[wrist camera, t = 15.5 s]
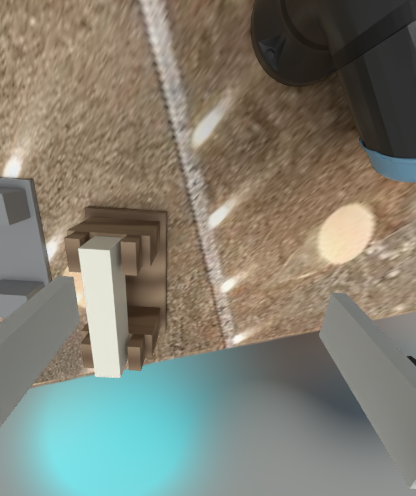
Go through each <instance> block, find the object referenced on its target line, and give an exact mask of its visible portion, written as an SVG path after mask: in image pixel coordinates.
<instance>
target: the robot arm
mask: <svg viewBox="0 0 416 496" xmlns="http://www.w3.org/2000/svg"><path fill="white" fill-rule="evenodd" d="M251 38H252V44H253V48H254V51H255V54H256V57H257V59H258V61H259V63H260V64H261V66H262V67H263V69H264V70H265V71H266V72H267V73H268V74H269V75H270V76H271V77H272V78H273V79H275V80H276V81H278V82H280V83H282V84H285V85H289V86H297V87H300V86H308V85H311V84H314V83H317V82H319V81H321V80H323V79H325V78H326V77H328V76H329V75H331V74H332V73H334V72H335V71H336V70H337V74H338V77H339V80H340V83H341V85H342V88H343V91H344V94H345V96H346V99H347V102H348V105H349V108H350V110H351V113H352V116H353V119H354V121H355V124H356V127H357V130H358V132H359V135H360V138H359V141H360V144H361V146H362V148H363V149H364V150H365V151H366V153H367V155H368V158H369V160H370V162H371V165H372V167H373V168H374V170H375V171H376V172H377V173H380V174H381V175H382V176H384V177H385V178H388V179H391V180H395V181H400V182H413V183H416V0H255V2H254V6H253V11H252V17H251ZM79 323H80V318H79V312H78V305H77V298H76V291H75V285H74V278H73V277H67V276H57V277H56V278H55V279H54V280H52V281H51V282H50V283H49V284H48V285H46V286H45V287H44V288H43V289H41V290H40V291H39V292H38V293H37V294H35V295H34V296H33V297H32V298H31V299H29V300H28V301H27V302H26V303H24V304H23V305H22V306H21V307H20V308H18V309H17V310H16V311H15V312H14V313H12V314H11V315H10V316H9V317H7V318H6V319H5V320H4V321H3V322H1V323H0V427H1V425H2V424H3V423H4V421H5V420H6V419H7V417H8V416H9V415H10V413H11V412H12V411H13V409H14V408H15V407H16V406H17V404H18V403H19V402H20V400H21V399H22V398H23V396H24V395H25V394H26V392H27V391H28V390H29V389H30V387H31V386H32V385H33V383H34V382H35V381H36V379H37V378H38V377H39V375H40V374H41V373H42V371H43V370H44V369H45V367H46V366H47V365H48V363H49V362H50V361H51V360H52V358H53V357H54V356H55V354H56V353H57V352H58V350H59V349H60V348H61V346H62V345H63V344H64V342H65V341H66V340H67V338H68V337H69V336H70V334H71V333H72V332H73V331H74V329H75V328H76V327H77V325H78V324H79ZM319 337H320V338H321V340H322V341H323V343H324V345H325V347H326V348H327V350H328V352H329V353H330V355H331V357H332V358H333V360H334V362H335V363H336V365H337V367H338V369H339V370H340V372H341V374H342V375H343V377H344V379H345V380H346V382H347V384H348V385H349V387H350V389H351V390H352V392H353V394H354V395H355V397H356V399H357V400H358V402H359V403H360V405H361V407H362V409H363V410H364V412H365V414H366V415H367V417H368V419H369V420H370V422H371V424H372V426H373V427H374V429H375V431H376V432H377V434H378V436H379V437H380V439H381V441H382V442H383V444H384V446H385V447H386V449H387V451H388V453H389V454H390V456H391V458H392V459H393V461H394V462H395V464H396V466H397V468H398V469H399V471H400V473H401V474H402V476H403V478H404V479H405V481H406V483H407V484H408V486H409V488H410V489H411V488H412V489H416V359H414V358H413V357H411V356H406V355H405V354H404V353H403V352H402V351H401V350H400V349H399V348H398V347H397V346H396V345H395V344H394V343H393V342H392V341H391V340H390V339H389V338H388V337H387V336H386V335H385V334H384V332H382V330H381V329H380V328H379V327H378V326H377V325H376V324H375V323H374V322H373V321H372V320H371V319H370V318H369V317H368V316H367V315H366V314H365V313H364V312H363V311H362V310H361V309H360V308H359V307H358V305H357V304H356V303H355V302H354V301H353V300H352V299H351V298H350V297H349V296H348V295H347V294H343V293H331V296H330V300H329V303H328V306H327V310H326V313H325V317H324V320H323V324H322V327H321V331H320V334H319Z"/></svg>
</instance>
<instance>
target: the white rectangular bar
mask: <svg viewBox="0 0 416 496" xmlns="http://www.w3.org/2000/svg"><path fill="white" fill-rule="evenodd" d="M122 240H123V238H121V237H105V236H94V237H93V238H91V239H90V240H89V241H87V242H86V243H85V244H83V245H82V246H81V247H79V248H78V252H79V259H80V267H81V274H82V281H83V289H84V296H85V304H86V311H87V319H88V326H89V333H90V341H91V348H92V356H93V363H94V370H95V376H97V377H113V378H120V377H121V375H122V373H123V370H124V368H125V365H126V363H127V360H128V344H129V331H128V315H127V299H126V283H125V275H123V272H122V257H121V241H122Z"/></svg>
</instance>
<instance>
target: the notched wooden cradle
mask: <svg viewBox="0 0 416 496" xmlns="http://www.w3.org/2000/svg"><path fill="white" fill-rule="evenodd" d="M85 216H86V220H85V221H83V222H81V223H80V224H78V225H76V226H74V227H72V228H71V229H69V230H67V237H65V238H64V241H65V248H66V254H67V261H68V267H69V272H81V267H80V259H79V252H78V248H79V247H81V246H82V245H83V244H85V243H86V242H87V241H89V240H90V239H91V238H93V237H94V236H105V237H121V238H123V240H122V241H121V257H122V272H123V275H125V283H126V299H127V315H128V331H129V344H128V362H129V370H137V371H141V369H142V366H143V363H144V359H145V357H152V356H153V353H154V349H155V346H156V342H157V338H158V335H159V333H163V334H165V332H166V309H167V212H165V211H151V210H136V209H121V208H106V207H91V206H88V207H86V208H85ZM82 337H83V341H82V343H81V344H80V345H81V351H82V358H83V364H84V368H94V363H93V356H92V348H91V341H90V333H89V326H88V323H87V324H86V325H85V327H84V328H83V330H82Z"/></svg>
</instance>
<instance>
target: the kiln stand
mask: <svg viewBox="0 0 416 496" xmlns="http://www.w3.org/2000/svg"><path fill="white" fill-rule="evenodd" d="M51 281H52V278H51V273H50V267H49V262H48V257H47V251H46V246H45V240H44V235H43V230H42V224H41V219H40V214H39V208H38V203H37V197H36V192H35V187H34V181H33V180H30V179H16V178H2V177H0V317H4V318H7V317H9V316H10V315H11V314H12V313H14V312H15V311H16V310H17V309H18V308H20V307H21V306H22V305H23V304H24V303H26V302H27V301H28V300H29V299H31V298H32V297H33V296H34V295H35V294H37V293H38V292H39V291H40V290H41V289H43V288H44V287H45V286H46V285H48V284H49V283H50V282H51Z"/></svg>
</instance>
